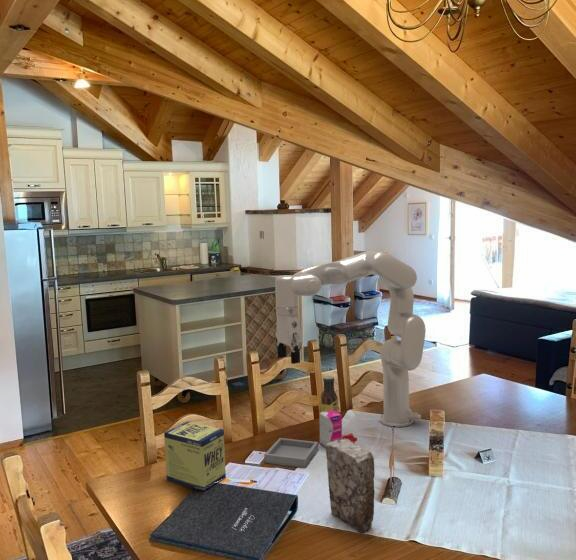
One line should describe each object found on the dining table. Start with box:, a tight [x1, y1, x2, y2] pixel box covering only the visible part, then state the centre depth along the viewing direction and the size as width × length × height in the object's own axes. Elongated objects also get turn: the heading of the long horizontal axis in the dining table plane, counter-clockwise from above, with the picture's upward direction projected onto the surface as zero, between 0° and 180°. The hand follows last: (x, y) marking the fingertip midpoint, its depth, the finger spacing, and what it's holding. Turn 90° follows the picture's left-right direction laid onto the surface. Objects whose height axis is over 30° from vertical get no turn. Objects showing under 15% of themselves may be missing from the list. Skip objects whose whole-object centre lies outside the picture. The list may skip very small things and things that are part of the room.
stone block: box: [325, 439, 376, 534], centre depth 142 cm, size 13×7×20 cm, turn 39°
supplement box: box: [319, 410, 343, 449], centre depth 190 cm, size 6×6×12 cm
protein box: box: [163, 421, 227, 489], centre depth 169 cm, size 10×16×16 cm
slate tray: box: [263, 437, 319, 469], centre depth 183 cm, size 14×14×3 cm
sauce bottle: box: [320, 375, 339, 413], centre depth 203 cm, size 6×6×20 cm
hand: (288, 360), depth 191 cm, fingers open, 9 cm apart
